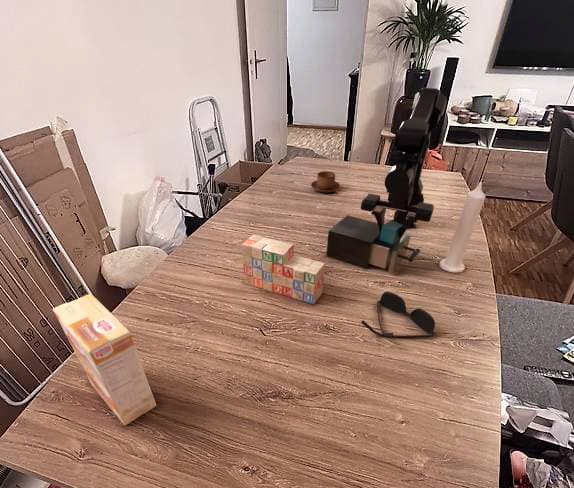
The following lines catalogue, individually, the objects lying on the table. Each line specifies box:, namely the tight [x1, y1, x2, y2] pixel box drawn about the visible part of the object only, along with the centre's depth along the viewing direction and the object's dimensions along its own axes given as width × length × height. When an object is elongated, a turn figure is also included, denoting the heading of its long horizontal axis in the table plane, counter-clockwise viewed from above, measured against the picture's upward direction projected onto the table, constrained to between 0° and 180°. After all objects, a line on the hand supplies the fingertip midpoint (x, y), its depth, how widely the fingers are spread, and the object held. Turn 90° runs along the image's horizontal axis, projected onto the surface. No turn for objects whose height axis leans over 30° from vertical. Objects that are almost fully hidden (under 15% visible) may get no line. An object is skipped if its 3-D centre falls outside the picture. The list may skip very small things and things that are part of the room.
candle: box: [439, 181, 486, 274], centre depth 104 cm, size 7×7×25 cm
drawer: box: [369, 234, 421, 274], centre depth 111 cm, size 17×11×7 cm
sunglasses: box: [361, 291, 436, 339], centre depth 89 cm, size 17×14×5 cm
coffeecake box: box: [52, 293, 157, 426], centre depth 69 cm, size 15×7×20 cm, turn 45°
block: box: [380, 220, 403, 244], centre depth 107 cm, size 4×4×4 cm
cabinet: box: [325, 214, 380, 270], centre depth 115 cm, size 14×13×9 cm
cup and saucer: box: [310, 170, 341, 193], centre depth 155 cm, size 12×12×6 cm
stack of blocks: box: [241, 234, 326, 305], centre depth 99 cm, size 21×6×12 cm, turn 62°
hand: (390, 236), depth 108 cm, fingers closed on block, 5 cm apart
